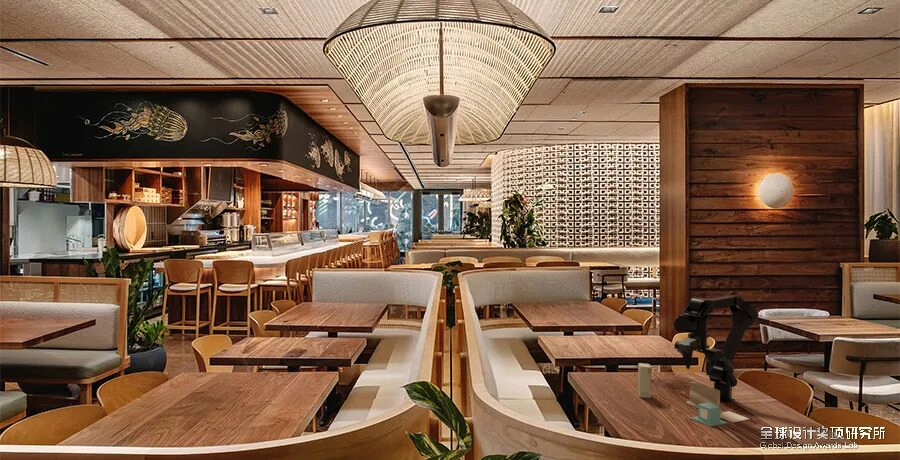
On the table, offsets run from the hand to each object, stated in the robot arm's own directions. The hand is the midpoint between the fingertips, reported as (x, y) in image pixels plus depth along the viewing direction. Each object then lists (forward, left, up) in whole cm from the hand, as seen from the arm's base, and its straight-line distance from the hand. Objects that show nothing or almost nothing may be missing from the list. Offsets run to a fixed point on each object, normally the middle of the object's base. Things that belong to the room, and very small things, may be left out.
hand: (697, 371), depth 212 cm
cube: (+12, +16, -12) cm, 23 cm away
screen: (+3, +6, -12) cm, 14 cm away
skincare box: (+13, -14, -12) cm, 23 cm away
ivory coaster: (+1, +16, -12) cm, 20 cm away
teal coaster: (+12, +16, -12) cm, 23 cm away
